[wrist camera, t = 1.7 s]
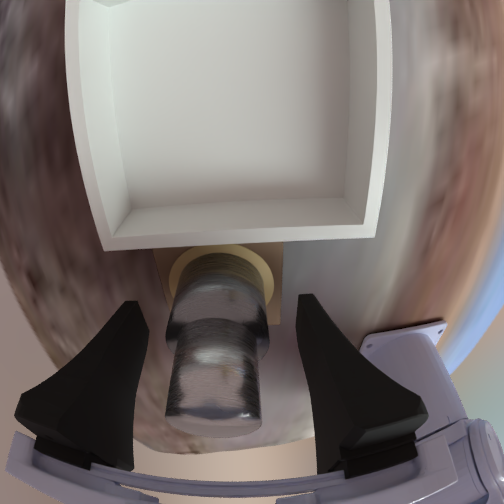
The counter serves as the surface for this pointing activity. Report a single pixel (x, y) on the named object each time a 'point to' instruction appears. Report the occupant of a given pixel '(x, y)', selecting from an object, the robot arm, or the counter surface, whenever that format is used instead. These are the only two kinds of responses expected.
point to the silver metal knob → (217, 347)
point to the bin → (230, 118)
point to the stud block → (259, 254)
